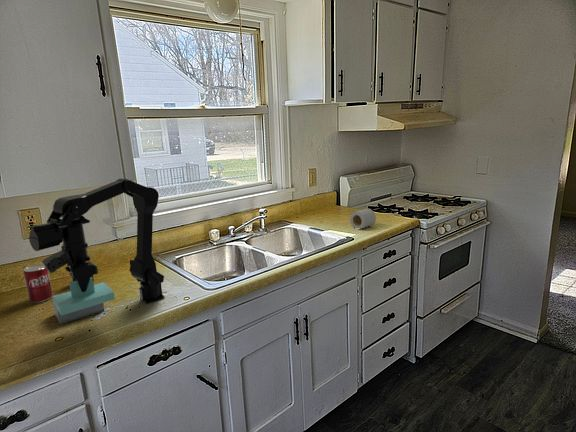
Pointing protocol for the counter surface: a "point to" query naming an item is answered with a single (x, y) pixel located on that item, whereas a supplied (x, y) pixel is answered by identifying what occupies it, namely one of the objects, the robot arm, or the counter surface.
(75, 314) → the tub
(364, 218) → the toilet paper
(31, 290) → the soda can
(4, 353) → the counter surface
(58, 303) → the lid
